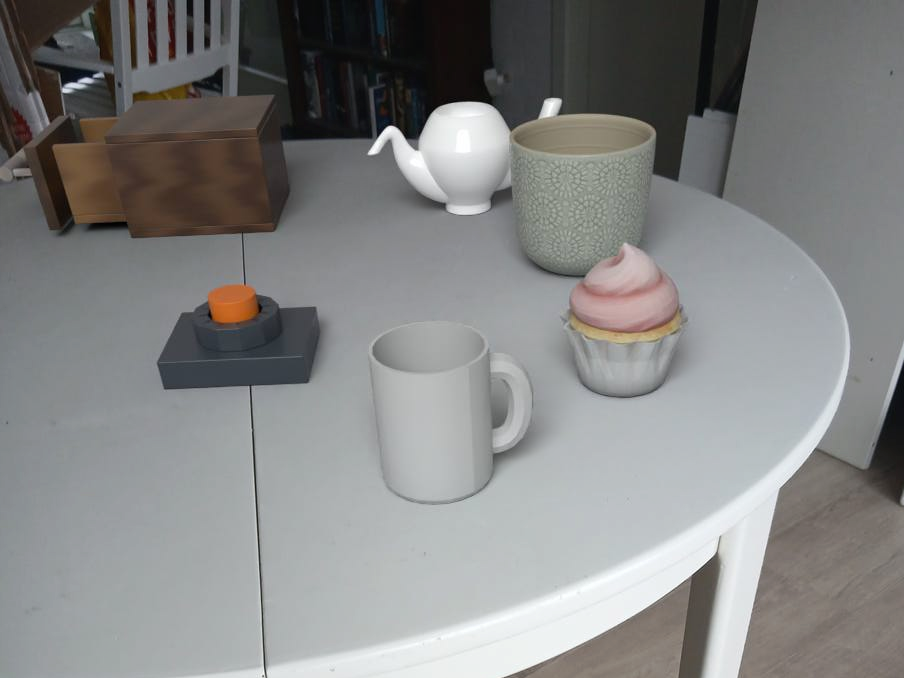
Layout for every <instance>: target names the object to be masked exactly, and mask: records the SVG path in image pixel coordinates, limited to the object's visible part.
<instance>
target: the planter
mask: <svg viewBox="0 0 904 678" xmlns="http://www.w3.org/2000/svg"><path fill="white" fill-rule="evenodd" d="M656 144H657V132H656V129H655V128H654V127H653V126H652V125H651V124H649V123H647V122H645V121H642V120H639V119H637V118H632V117H629V116H623V115H616V114H607V113H571V114H570V113H569V114H568V113H567V114H560V115H559V114H558V115H557V116H551V117H545V118H541V119H538V118H537V119H532V120H530V121H527V122H525V123H522V124H520V125H518V126H516V127H515V128H514V129H512V130H511V133H510V135H509V156H510V173H511V185H512V186H511V194H512V204H513V213H514V214H513V215H514V221H515V228H516V235H517V239H518V242H519V245H520V247H521V248H522V251H523V252H524V253H525V255H526V256H527V257H528V258H529V259H530V261H532V262H534V263H535V264H536V265H538V266H539V267H541V268H542V269H544V270H546V271H548V272H551V273H554V274H558V275H564V276H574V277H575V276H576V277H579V276H580V277H581V276H586V274H587V273H588V272H589V271H590V270H591V269H592V268H593V267H594V266H595V265H596V264H598V263H599V262H600V261H602V260H604V259H606V258H609V257H614V256H618V253H619V250H620V249H621V247H622V245H623V243H628V244H630V245H632V246H634V247H637V248H638V246H639V244H640V241H641V239H642V236H643V232H644V227H645V224H646V223H645V222H646V218H647V212H648V206H649V201H650V192H651V186H652V180H653V173H654V165H655V156H656V147H657V146H656Z"/></svg>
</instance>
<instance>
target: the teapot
mask: <svg viewBox="0 0 904 678" xmlns="http://www.w3.org/2000/svg"><path fill="white" fill-rule="evenodd" d="M562 104H563V100H562V99H561V98H559V97H550V98H546V99H544V100H543V104H542V107H541V110H540V113H539V115H538V117H537V119H541V118H545V117H551V116H558V115H559V112H560V110H561V109H562V108H561V107H562ZM511 132H512V130H511V129H510V128H509V126H508V124H507V122H506V121H505V119H504V117H503V115H501V113H500V111H499V110H498V109H497V108H495V106H493V105H491V104H488V103H485V102H481V101H458V102H452V103H447V104H443V105H440V106H438V107H436V108H435V109H434V110H433V111H432V112H431V113H430V115H429V116H428V118H427V120H426V122H425V124H424V126H423V129H422V131H421V132H420V135H419V137H418V141H417V149H414V148H413V147H412V146H411V145H410V143H408V141H407V139H406V137H405V136H404V134H403V133H402V131H401V130H400V129H399V128H398V127H396V126H394V125H388V126H386V127H385V128H384V129H383V131H382V132H381V133H380V134H379V136H378V137H377V139H376V140H375V141H374V143H373V145H372V146H371V147H370V149H369V150H368V152H367V153H366V154H367V155H368V156H373V155H377V154H380V153H381V152H382V150H383V148H384V146H385V145H386V143H387V142H388V141H390V142H391V146H392V151H393V155H394V156H393V157H394V159H395V163H396V165H397V167H398V169H399V171H400V172H401V174H402V175H403V177H404V178H405V179H406V181H407V182H408V183H409V185H410V186H411V187H412V188H414V190H415V191H416V192H417V193H419V194H421V195H422V196H423V197H426V198H427V199H429V200H431V201H434V202H437V203H441V204H445V210H446V212H448V213H451V214H453V215H457V216H475V215H479V214H483V213H486V212H488V211H490V209H491V208H492V202H491V198H492V196H493V195H494V194H495V192H499V191H503V190H507V189H509V188H511V187H512V185H511V173H510V156H509V135H510V133H511Z"/></svg>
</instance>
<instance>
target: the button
mask: <svg viewBox="0 0 904 678" xmlns="http://www.w3.org/2000/svg"><path fill="white" fill-rule="evenodd" d="M256 294H257V292H256V289H255V288H254V287H253V286H251V285H246V284H228V285H223V286H219V287H217V288H214V289H212V290H211V291H210V292H209V293H208V294H207V301H208V302H209V307H210V311H211V315H212V319H213V321H217V322H221V323H229V322H241V321H244V320H248V319H251V318H253V317H255V316H256V315H258V314H259V307H258V302H257V297H256Z"/></svg>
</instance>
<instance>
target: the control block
mask: <svg viewBox="0 0 904 678" xmlns="http://www.w3.org/2000/svg"><path fill="white" fill-rule="evenodd" d="M256 297H257V302H258V307H259V314H258V315H256V316H255V317H253V318H251V319H248V320H244V321H241V322H229V323H221V322H217V321H213V319H212V315H211V311H210V307H209V302H208V300H207V301H205V302H204V303H202V304H200V305H199V306H196V307H195V308H194V311H185V312H181V313H180V316H179V317H178V319H177V322H176V324H175V325H174V328H173V329H172V331H171V334H170V336H169V337H168V340H167V341H166V343H165V345H164V347H163V349H162V351H161V353H160V354H159V357H158V359H157V361H156V365H157V369H158V372H159V376H160V380H161V383H162V386H163V390H172V389H195V388H218V387H219V388H220V387H239V386H240V387H241V386H266V385H286V384H307V383H308V382H309V379H310V375H311V369H312V366H313V362H314V358H315V354H316V349H317V345H318V341H319V337H320V333H321V329H320V328H321V327H320V323H319V316H318V315H319V314H318V310H317V306H297V307H296V306H295V307H280V305H279V304H278V303H277V302H276V300H274V299H273V298H272V297H271V296H267V295H263V294H257V293H256Z"/></svg>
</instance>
